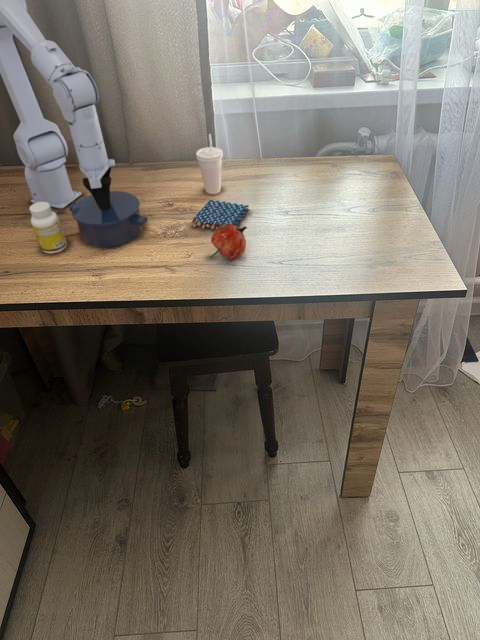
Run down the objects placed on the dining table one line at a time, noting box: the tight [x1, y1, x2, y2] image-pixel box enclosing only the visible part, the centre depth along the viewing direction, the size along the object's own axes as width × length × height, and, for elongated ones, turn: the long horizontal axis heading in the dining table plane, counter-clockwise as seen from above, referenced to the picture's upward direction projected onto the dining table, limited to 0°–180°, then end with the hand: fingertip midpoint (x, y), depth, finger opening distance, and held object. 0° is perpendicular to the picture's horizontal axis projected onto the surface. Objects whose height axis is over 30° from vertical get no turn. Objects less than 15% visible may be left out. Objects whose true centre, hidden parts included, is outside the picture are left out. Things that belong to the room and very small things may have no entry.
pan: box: [68, 201, 148, 248], centre depth 112 cm, size 13×19×6 cm
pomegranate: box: [209, 224, 248, 261], centre depth 103 cm, size 7×7×10 cm
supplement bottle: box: [28, 202, 68, 254], centre depth 106 cm, size 5×5×10 cm
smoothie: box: [195, 133, 224, 195], centre depth 121 cm, size 6×6×14 cm
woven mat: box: [191, 199, 250, 230], centre depth 115 cm, size 10×11×2 cm
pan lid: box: [71, 190, 141, 226], centre depth 109 cm, size 14×14×4 cm
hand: (105, 204), depth 109 cm, fingers open, 3 cm apart
